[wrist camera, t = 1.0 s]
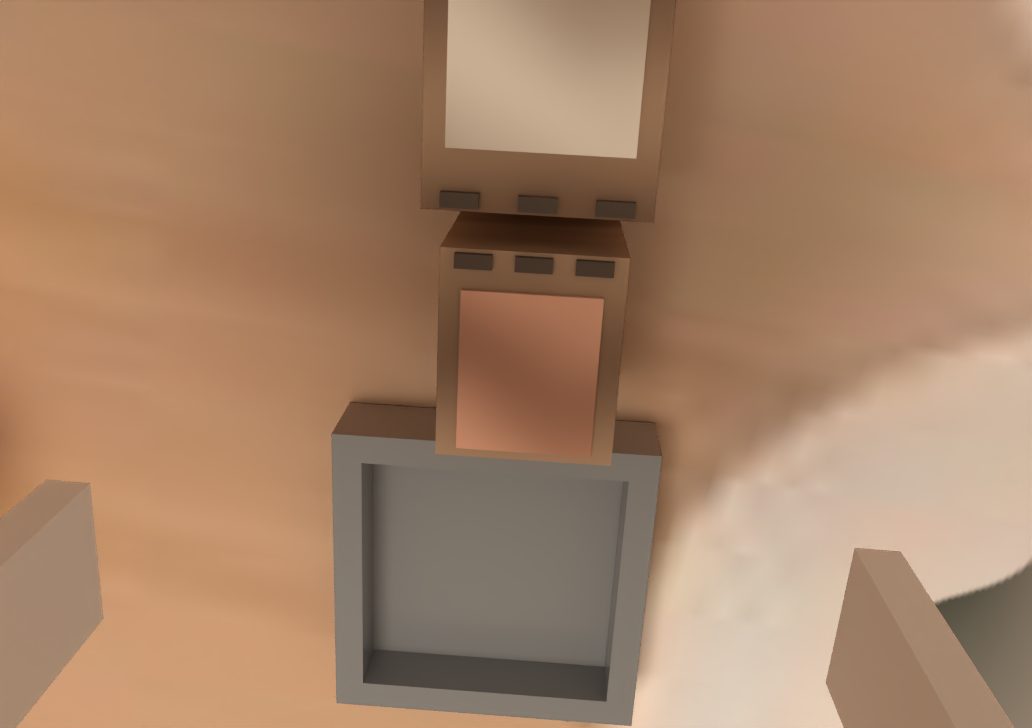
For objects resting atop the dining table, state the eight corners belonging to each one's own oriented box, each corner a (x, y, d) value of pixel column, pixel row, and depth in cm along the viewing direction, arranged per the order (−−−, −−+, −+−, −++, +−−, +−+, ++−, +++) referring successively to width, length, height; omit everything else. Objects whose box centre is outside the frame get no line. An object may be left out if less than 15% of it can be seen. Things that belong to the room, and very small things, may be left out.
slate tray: (350, 402, 34) (331, 433, 31) (654, 422, 33) (662, 456, 31) (352, 655, 37) (336, 703, 35) (626, 676, 37) (631, 725, 34)
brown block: (466, 201, 31) (438, 248, 24) (616, 210, 31) (630, 260, 24) (461, 369, 33) (434, 457, 26) (601, 379, 33) (611, 469, 26)
